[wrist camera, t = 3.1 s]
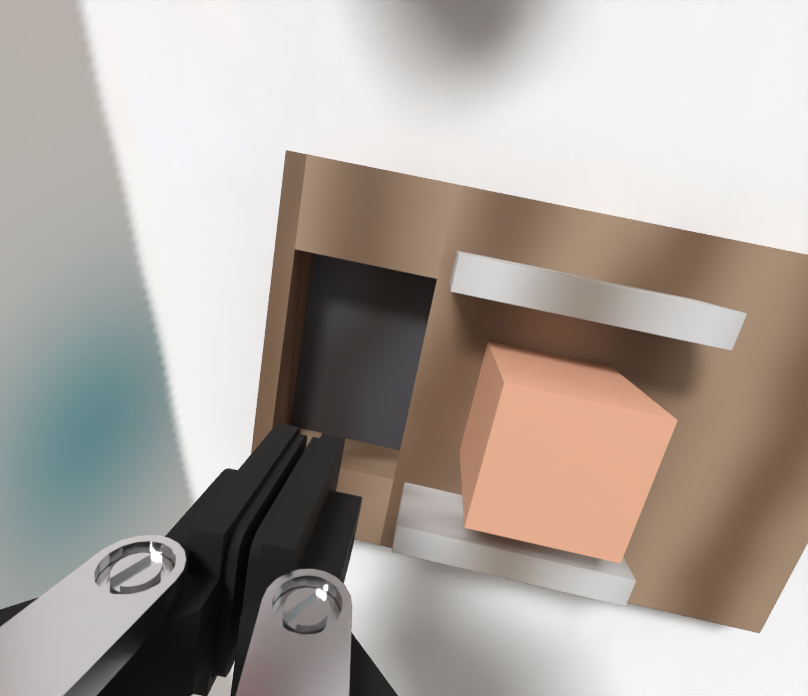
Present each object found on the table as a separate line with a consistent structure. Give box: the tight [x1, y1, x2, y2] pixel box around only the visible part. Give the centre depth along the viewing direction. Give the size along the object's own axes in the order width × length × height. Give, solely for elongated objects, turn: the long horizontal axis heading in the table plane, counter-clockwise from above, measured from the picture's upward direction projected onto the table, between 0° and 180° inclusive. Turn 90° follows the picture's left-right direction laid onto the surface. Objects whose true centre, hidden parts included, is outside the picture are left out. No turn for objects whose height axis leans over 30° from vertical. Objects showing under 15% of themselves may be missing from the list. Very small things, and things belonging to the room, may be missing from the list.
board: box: [251, 150, 808, 633], centre depth 18 cm, size 24×16×6 cm, turn 79°
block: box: [460, 341, 678, 563], centre depth 16 cm, size 5×5×5 cm
